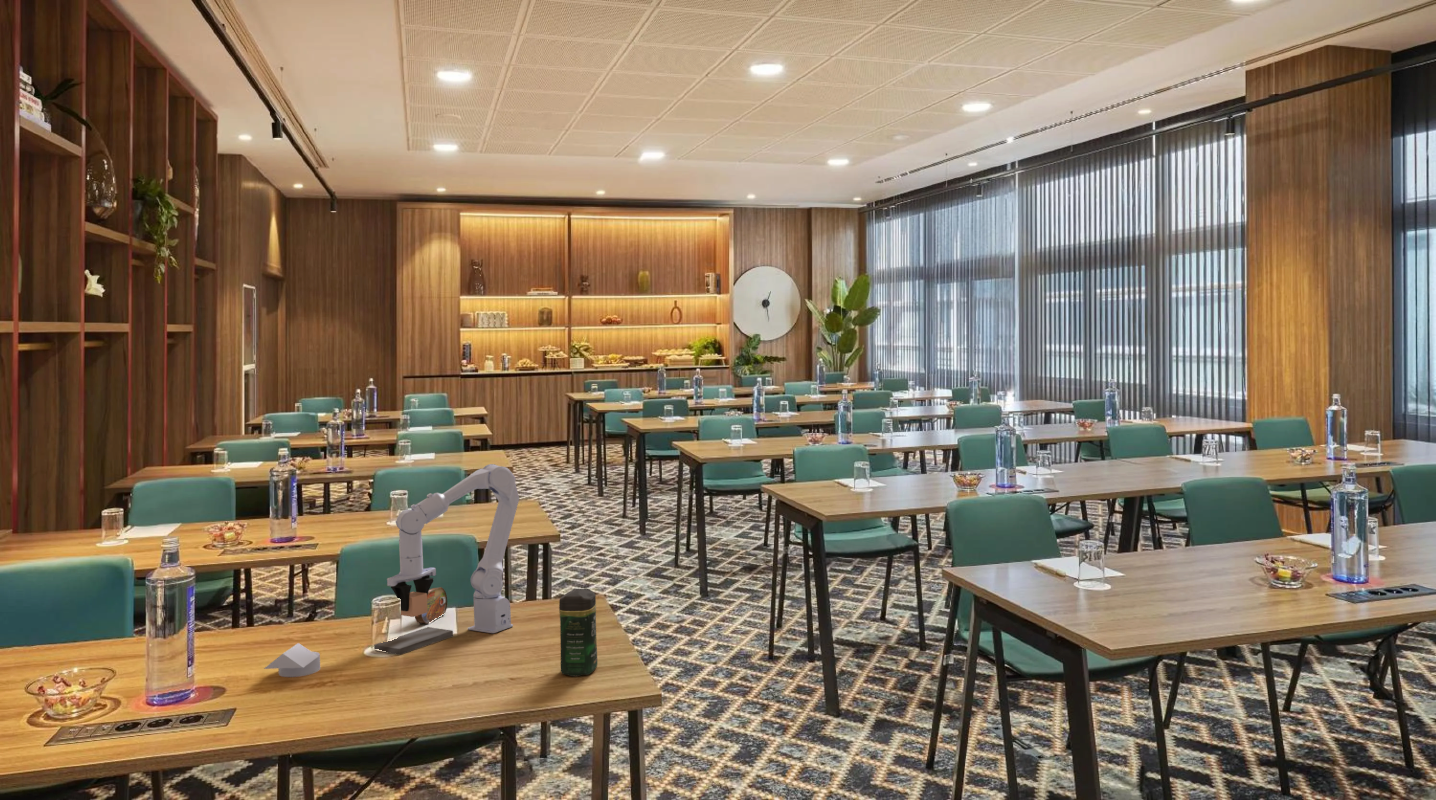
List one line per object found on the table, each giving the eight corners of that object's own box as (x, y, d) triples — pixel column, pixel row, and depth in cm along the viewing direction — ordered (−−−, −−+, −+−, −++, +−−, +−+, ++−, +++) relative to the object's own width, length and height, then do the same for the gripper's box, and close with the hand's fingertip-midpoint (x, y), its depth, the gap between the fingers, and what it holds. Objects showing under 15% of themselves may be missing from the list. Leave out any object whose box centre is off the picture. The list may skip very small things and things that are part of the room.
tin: (422, 627, 265) (421, 596, 265) (412, 626, 266) (410, 596, 266) (449, 613, 280) (447, 584, 280) (438, 613, 281) (437, 584, 280)
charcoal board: (453, 636, 255) (452, 630, 255) (399, 654, 240) (399, 648, 239) (428, 632, 260) (428, 626, 260) (374, 650, 244) (374, 644, 244)
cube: (427, 612, 253) (426, 593, 253) (412, 616, 249) (411, 597, 249) (414, 610, 256) (413, 591, 255) (399, 614, 251) (398, 595, 251)
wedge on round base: (304, 682, 220) (326, 664, 233) (302, 652, 220) (325, 636, 233) (264, 683, 220) (288, 665, 233) (262, 654, 220) (287, 638, 233)
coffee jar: (591, 677, 218) (589, 595, 217) (557, 677, 218) (554, 595, 218) (601, 664, 227) (599, 585, 227) (568, 664, 228) (566, 585, 227)
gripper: (421, 550, 260) (423, 600, 260) (378, 560, 247) (380, 612, 248) (440, 551, 256) (442, 602, 257) (397, 562, 244) (399, 615, 244)
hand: (413, 608), depth 252 cm, fingers closed on cube, 5 cm apart
